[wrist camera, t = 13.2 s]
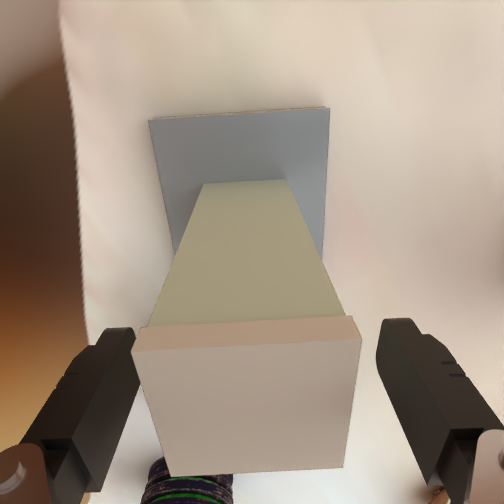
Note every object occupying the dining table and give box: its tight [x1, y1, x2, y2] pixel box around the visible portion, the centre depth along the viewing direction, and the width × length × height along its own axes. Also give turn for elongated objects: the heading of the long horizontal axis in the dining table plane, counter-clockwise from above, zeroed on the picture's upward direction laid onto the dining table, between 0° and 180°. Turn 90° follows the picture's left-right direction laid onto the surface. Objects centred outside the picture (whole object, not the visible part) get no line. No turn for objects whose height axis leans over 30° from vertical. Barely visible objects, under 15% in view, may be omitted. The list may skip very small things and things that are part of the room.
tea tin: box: [131, 179, 362, 477], centre depth 14 cm, size 5×5×14 cm
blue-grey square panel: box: [148, 107, 330, 260], centre depth 21 cm, size 10×12×1 cm
